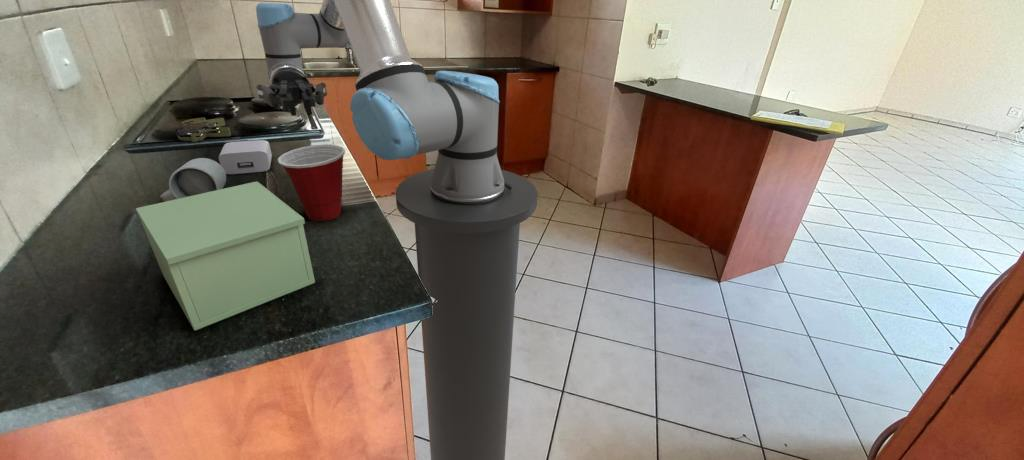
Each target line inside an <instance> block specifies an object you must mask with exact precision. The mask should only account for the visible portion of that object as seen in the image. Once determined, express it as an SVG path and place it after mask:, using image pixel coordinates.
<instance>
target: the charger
mask: <svg viewBox="0 0 1024 460" xmlns="http://www.w3.org/2000/svg"><path fill="white" fill-rule="evenodd" d="M272 157H273V153H272V150H271V145H270V143H269V141H267V140H264V139H259V140H258V139H256V140H242V141H241V140H240V141H229V142H226V143H225V144H223V146H222V149H221V151H220V153H219V155H218V161H219V164H220V165H221V166H222V167H223V169H224V170H225V173H226V175H237V174H238V175H240V174H250V173H251V174H252V173H263V172H267V171H269V170H270V169H271V163H272Z"/></svg>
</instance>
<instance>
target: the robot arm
mask: <svg viewBox="0 0 1024 460" xmlns="http://www.w3.org/2000/svg"><path fill="white" fill-rule="evenodd" d="M255 11H256V12H255V13H256V20H257V27H258V30H259V33H260V38H261V43H262V47H263V52H264V59H265V62H266V63H265V64H266V67H267V68H266V69H267V75H268V79H269V82H270V85H263V84H257V85H256V90H257V95H258V98H259V99H261V100H263V101H265V102H266V103H267V104H268V105H269V107H271V108H278V107H279V105H280V106H281V109H282V112H289V113H290V115H291V116H292V117H293V116H294V117H295V116H297V111H296V107H295V106H297V105H301V104H303V108H304V110H305V112H306V114H307V115H308V116H309V115H313V111H312V108H316V106H317V105H319V106H322V105H324V102H325V97H327V96H328V91H327V84H326V83H325V82H319V83H315V84H314V83H311V82H310V80H309V79H308V77H307V75H306V74H305V71H304V67H303V61H302V53H301V49H302V50H303V49H332V48H333V49H336V48H338V49H344V48H348V47H350V49H351V51H352V54H353V57H354V60H355V63H356V65H357V68H358V71H359V75H358V77H357V78H356V81H355V83H354V86H355V89H356V91H355V92H354V93H353V95H352V96H351V100H350V111H351V112H352V114H351V119H352V120H351V121H352V123H353V126H354V129H355V131H356V133H357V135H358V137H359V139H360V140H361V142H362V143H363V145H364V146H365V147H366V149H368V151H370V153H372V154H373V155H375V156H376V157H378V158H379V159H381V160H386V161H395V160H402V159H405V160H407V159H411V158H413V157H415V156H418V155H419V156H420V155H422V154H427V153H431V152H435V151H438V152H437V158H436V160H435V165H434V167H433V169H434V171H433V174H432V177H431V183H430V189H431V194H432V195H433V196H434V197H435V198H437V199H439V200H441V201H444V202H447V203H451V204H457V205H480V204H485V203H489V202H493V201H495V200H497V199H499V198H500V197H502V196H503V194H504V190H505V187H506V188H508V189H509V190H511V189H512V186H511V185H510V184H508V183H507V182H505V181H504V178H503V175H502V171H501V170H502V168H501V165H500V162H499V159H498V138H499V137H498V135H499V134H498V133H499V112H500V99H499V96H500V95H499V84H498V83H497V80H495V79H494V78H493V77H489V76H485V75H480V74H474V73H469V72H461V71H453V70H452V71H451V70H437V71H436V72H435V76H434V77H433V78H434V81H429V80H428V76H427V73H426V71H425V68H424V66H423V64H421V63H419V62H418V61H416V60H413V59H412V58H411V56H410V53H409V51H408V47H407V44H406V42H405V38H404V36H403V34H402V33H403V32H402V31H401V28H400V25H399V22H398V19H397V16H396V13H395V10H394V7H393V5H392V2H391V0H322V3H321V6H320V10H319V13H305V12H303V13H302V12H295V11H294V8H293V6H292V5H291V4H290V3H282V2H281V3H278V2H259V3H258V4H257V5H256V6H255ZM314 85H315V86H314Z"/></svg>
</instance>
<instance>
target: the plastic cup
mask: <svg viewBox="0 0 1024 460" xmlns="http://www.w3.org/2000/svg"><path fill="white" fill-rule="evenodd" d="M345 154H346V150H345V148H344V147H343V146H341V145H338V144H328V143H327V144H314V145H313V144H312V145H307V146H302V147H297V148H295V149H291V150H289V151H287V152H285V153H283V154H281V155H280V156H278V158H277V162H278V164H279V165H280V166H282V167H283V168H284V170H285V172H286V173H287V175H288V178H290V180H291V182H292V185H293V187H294V190H295V192H296V194H297V196H298V199H299V202H300V203H301V205H302V207H303V209H304V212H305V214H306V216H307V217H308V219H309V220H311V221H316V222H325V221H330V220H334V219H335V218H337V217H339V216H340V215H341V212H342V211H341V210H342V197H343V168H344V156H345Z"/></svg>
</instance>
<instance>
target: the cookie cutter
mask: <svg viewBox="0 0 1024 460" xmlns="http://www.w3.org/2000/svg"><path fill="white" fill-rule="evenodd" d="M190 121H194V122H191V123H190V124H196V123H202V122H209V123H213V122H217V123H218V124H216V125H217V126H218V127H216V128H219V129H208V128H203V129H201V131H200V132H199V133H194V134H191V133H190V136H191V137H180V136H178V135H177V134H176V136H177V138H178V140H179V141H184V142H192V143H195V142H196V143H197V142H199V141H203V140H205V138H207V137H210V138H214V137H215V138H216V137H217V138H219V137H221V138H223V137H231V136H232V132H231V129H230V127H225V126H226V122H225V118H224V117H217V118H211V119H206V117H197V118H196V117H195V118H190V119H186V120H183V121H181V125H182V124H183V123H185V122H190ZM209 123H207V124H205V126H206V127H207V126H208V127H212V126H209V125H208V124H209ZM183 125H187V124H183ZM183 125H182V126H183ZM191 126H192V125H191ZM203 126H204V125H203ZM204 130H209V131H217V130H218V131H220V133H205V134H203V135H202V136H200V137H196V136H199V135H201V134H202V131H204Z"/></svg>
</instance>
